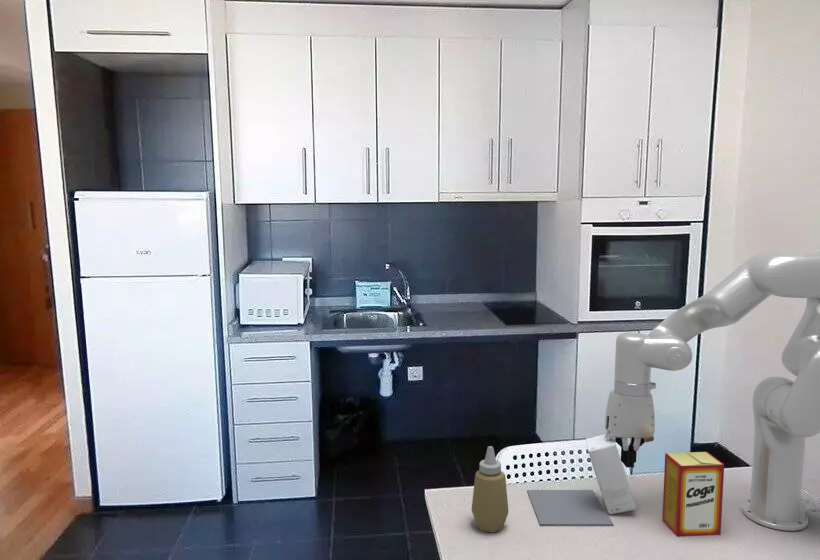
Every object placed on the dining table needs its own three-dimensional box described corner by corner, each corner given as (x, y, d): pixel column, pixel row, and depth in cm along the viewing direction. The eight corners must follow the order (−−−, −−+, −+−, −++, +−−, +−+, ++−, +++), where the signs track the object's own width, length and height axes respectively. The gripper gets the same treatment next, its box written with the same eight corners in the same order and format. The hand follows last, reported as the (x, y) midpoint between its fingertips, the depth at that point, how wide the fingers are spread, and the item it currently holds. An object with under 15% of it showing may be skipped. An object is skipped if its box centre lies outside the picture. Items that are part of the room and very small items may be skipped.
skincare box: (636, 510, 133) (617, 445, 132) (607, 515, 134) (587, 451, 134) (630, 492, 141) (612, 431, 140) (602, 498, 143) (584, 437, 142)
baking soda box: (676, 536, 126) (680, 464, 124) (662, 520, 132) (665, 451, 130) (720, 535, 126) (724, 462, 124) (703, 519, 133) (707, 450, 131)
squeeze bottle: (512, 520, 132) (513, 443, 130) (502, 539, 125) (503, 457, 123) (478, 513, 136) (478, 437, 134) (466, 530, 128) (466, 451, 126)
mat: (592, 491, 146) (592, 489, 146) (613, 525, 130) (613, 524, 130) (527, 491, 146) (527, 489, 146) (540, 525, 130) (540, 524, 130)
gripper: (658, 383, 138) (654, 458, 140) (593, 382, 138) (590, 458, 140) (671, 393, 131) (667, 472, 133) (603, 392, 131) (600, 472, 133)
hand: (628, 465), depth 137 cm, fingers closed
